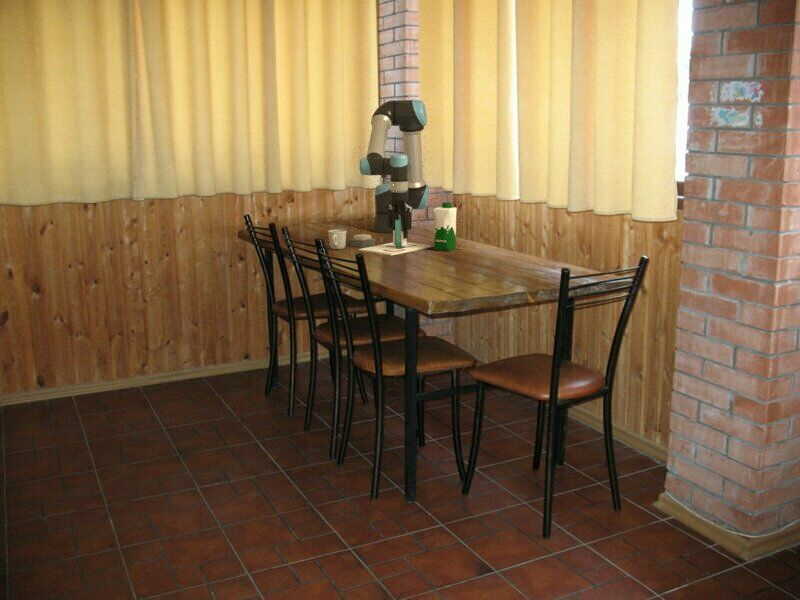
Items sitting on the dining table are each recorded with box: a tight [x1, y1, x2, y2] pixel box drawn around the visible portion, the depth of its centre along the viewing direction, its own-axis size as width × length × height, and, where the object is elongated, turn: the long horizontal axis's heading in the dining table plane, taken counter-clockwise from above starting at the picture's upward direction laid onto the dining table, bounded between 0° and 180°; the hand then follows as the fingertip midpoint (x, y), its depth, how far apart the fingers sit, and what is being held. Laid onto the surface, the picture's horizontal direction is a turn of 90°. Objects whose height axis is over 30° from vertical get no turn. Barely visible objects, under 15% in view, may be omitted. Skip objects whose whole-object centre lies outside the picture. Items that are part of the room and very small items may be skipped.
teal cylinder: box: [395, 218, 405, 248], centre depth 377 cm, size 4×4×12 cm
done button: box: [353, 233, 372, 240], centre depth 389 cm, size 5×5×3 cm
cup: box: [327, 228, 347, 250], centre depth 380 cm, size 11×8×8 cm
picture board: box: [358, 241, 432, 256], centre depth 379 cm, size 26×19×1 cm
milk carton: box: [433, 201, 458, 252], centre depth 374 cm, size 9×9×20 cm
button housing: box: [349, 237, 376, 248], centre depth 389 cm, size 8×8×3 cm
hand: (399, 245), depth 378 cm, fingers closed on teal cylinder, 4 cm apart
